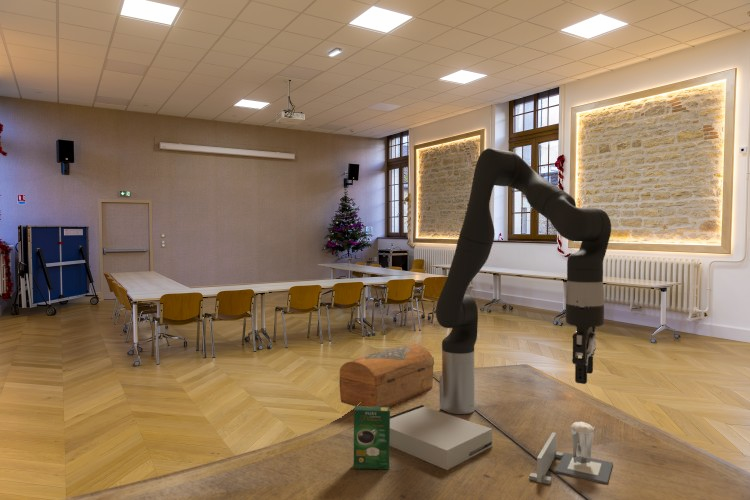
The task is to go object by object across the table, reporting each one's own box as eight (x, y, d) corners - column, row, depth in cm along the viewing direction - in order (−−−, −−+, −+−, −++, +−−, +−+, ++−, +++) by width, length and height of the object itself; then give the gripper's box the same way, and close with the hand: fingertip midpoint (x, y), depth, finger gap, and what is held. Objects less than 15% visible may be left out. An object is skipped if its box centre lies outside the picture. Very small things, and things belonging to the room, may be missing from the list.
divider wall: (529, 480, 101) (529, 455, 101) (545, 452, 114) (545, 430, 114) (549, 484, 99) (549, 460, 99) (563, 456, 112) (563, 434, 112)
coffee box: (391, 464, 109) (390, 405, 109) (390, 470, 106) (389, 410, 106) (354, 463, 110) (353, 405, 109) (353, 469, 107) (352, 409, 106)
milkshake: (600, 471, 104) (600, 424, 103) (573, 469, 105) (573, 422, 104) (594, 461, 108) (595, 416, 108) (568, 459, 109) (569, 414, 109)
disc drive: (422, 422, 134) (421, 404, 134) (493, 447, 118) (492, 427, 118) (374, 441, 122) (374, 421, 122) (446, 472, 106) (446, 449, 106)
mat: (555, 472, 104) (555, 470, 104) (564, 454, 113) (564, 452, 113) (607, 484, 99) (607, 481, 99) (612, 464, 108) (612, 462, 108)
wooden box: (396, 379, 174) (395, 340, 174) (435, 388, 164) (435, 346, 163) (335, 401, 152) (335, 356, 151) (376, 413, 141) (375, 365, 141)
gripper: (571, 297, 113) (571, 367, 114) (559, 305, 101) (559, 384, 101) (607, 299, 109) (607, 372, 110) (599, 307, 97) (599, 389, 97)
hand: (584, 377), depth 106 cm, fingers open, 8 cm apart
